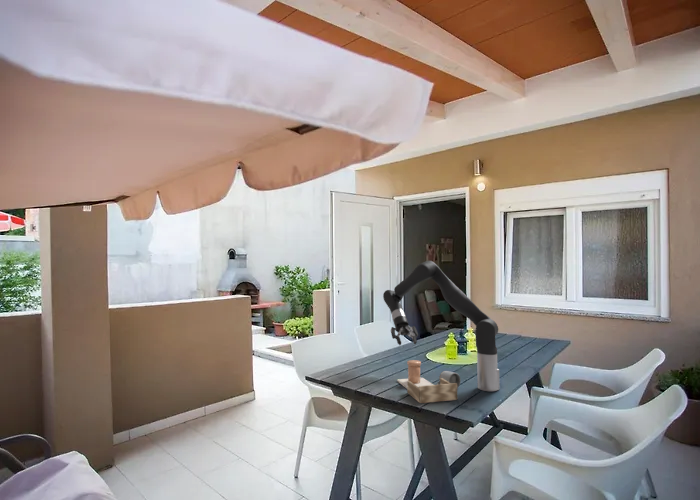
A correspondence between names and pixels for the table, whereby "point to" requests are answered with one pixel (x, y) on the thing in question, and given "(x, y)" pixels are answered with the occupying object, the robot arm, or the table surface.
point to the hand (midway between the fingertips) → (408, 343)
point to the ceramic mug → (450, 377)
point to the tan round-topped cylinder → (414, 371)
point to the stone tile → (422, 383)
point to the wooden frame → (433, 392)
